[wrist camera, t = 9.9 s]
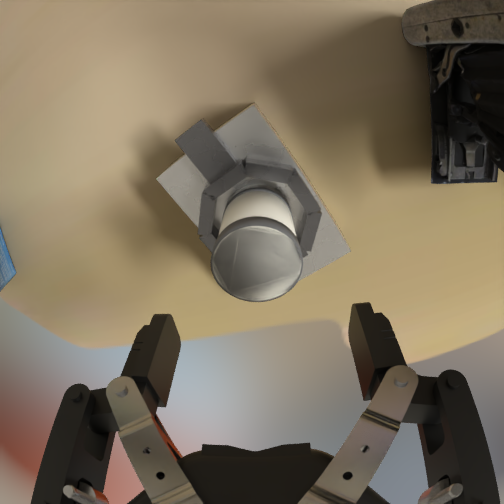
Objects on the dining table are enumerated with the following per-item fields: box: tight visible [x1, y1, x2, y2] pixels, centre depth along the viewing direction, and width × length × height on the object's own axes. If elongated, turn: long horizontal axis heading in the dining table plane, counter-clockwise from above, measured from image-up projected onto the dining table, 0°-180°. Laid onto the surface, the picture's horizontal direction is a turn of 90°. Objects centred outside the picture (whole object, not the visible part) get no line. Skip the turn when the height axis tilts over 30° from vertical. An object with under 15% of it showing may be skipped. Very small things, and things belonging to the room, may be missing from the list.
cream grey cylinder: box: [211, 184, 303, 302], centre depth 20 cm, size 5×5×7 cm
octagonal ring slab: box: [156, 103, 351, 281], centre depth 24 cm, size 9×15×6 cm, turn 36°
